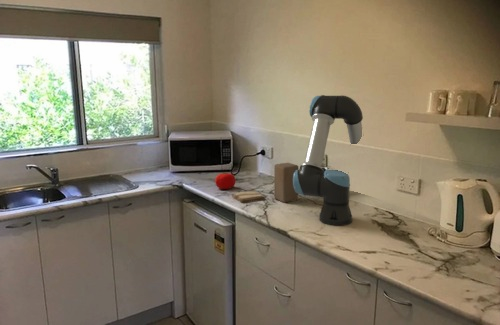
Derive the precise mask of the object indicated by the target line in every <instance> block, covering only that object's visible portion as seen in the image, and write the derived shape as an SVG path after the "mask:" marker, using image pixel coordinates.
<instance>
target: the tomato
mask: <svg viewBox="0 0 500 325" xmlns="http://www.w3.org/2000/svg"><path fill="white" fill-rule="evenodd" d="M214 180H215V181H214V182H215V185H216V187H217V188H218V189H219V190H220V189H221V190H229V189H232V188H234V186H235V184H236V177H235V175H234V174H232V173H230V172H222V173H219V174H218V175H217V176H216V177H215V179H214Z"/></svg>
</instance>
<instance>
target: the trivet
mask: <svg viewBox="0 0 500 325" xmlns="http://www.w3.org/2000/svg"><path fill="white" fill-rule="evenodd" d="M231 197H232V198H233V199H235V200H237V201H238V202H240V203H241V204H246V203H253V202H258V201H264V200H265V199H266V197H265V196H264V195H262V194H261V193H258V192H257V191H255V190H247V191H241V192H235V193H231Z"/></svg>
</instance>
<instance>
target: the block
mask: <svg viewBox="0 0 500 325" xmlns="http://www.w3.org/2000/svg"><path fill="white" fill-rule="evenodd" d="M296 170H299V165H298V164H294V163H291V162H282V163H276V164H274V171H273V172H274V176H273V177H274V178H273V179H274V181H273V182H274V193H273V195H274V199H275V200H277V201H280V202H281V203H285V204H286V203H290V202H295V201H298V200H299V194H298V193H296V192H295V190H294V186H293V175H294V172H295V171H296Z"/></svg>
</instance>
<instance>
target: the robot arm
mask: <svg viewBox="0 0 500 325" xmlns="http://www.w3.org/2000/svg"><path fill="white" fill-rule="evenodd" d="M308 112H309V116H310V118H311V120H312V121H313V122H312V127H311V132H310V135H309V141H308V145H307V149H306V153H305V157H304V162H303V163H301V164H300V166H299V168H298V170H296V171H295V172H294V175H293V186H294V190H295V192H296V193H298V195H303V196H310V197H319V198H323V204H322V207H321V210H320V213H319V221H320V222H321V223H322V224H325V225H329V226H345V225H349V224H352V222H353V215H352V210H351V207H350V186H351V183H350V180H351V179H350V175H349V173H348V174H346V173H344V172H342V171H338V170H328V169H329V168H328V167H329V166H324V167H323V166H322V165H323V161H324V156H325V151H326V147H327V143H328V137H329V134H330V129H331V126H332V125H334V123H335V121H336V119H341V120H343V123H344V124H345V125H346V129H347V134H348V138H349V142H350V143H351V144H357V143H358V142H359V141H360V139H361V137H362V129H363V124H362V121H363V118H364V117H363V111H362V109H361V107H360V105H359V104H358V103H357V102H356V101H355V99H353V98H352V97H350V96H347V95H342V94H341V95H324V94H321V95H316V96H314V97H313V98H312V100H311V102H310V105H309V111H308ZM350 143H349V144H350ZM351 144H350V145H351Z"/></svg>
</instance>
